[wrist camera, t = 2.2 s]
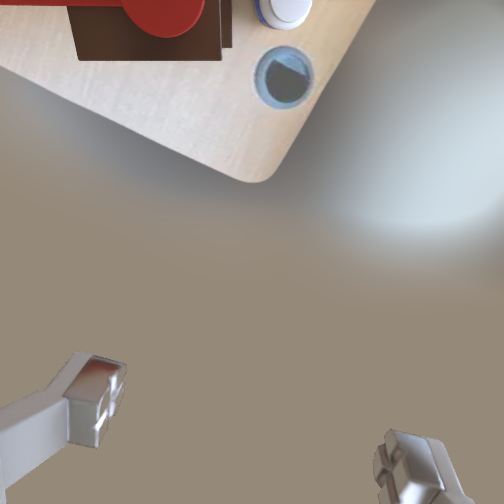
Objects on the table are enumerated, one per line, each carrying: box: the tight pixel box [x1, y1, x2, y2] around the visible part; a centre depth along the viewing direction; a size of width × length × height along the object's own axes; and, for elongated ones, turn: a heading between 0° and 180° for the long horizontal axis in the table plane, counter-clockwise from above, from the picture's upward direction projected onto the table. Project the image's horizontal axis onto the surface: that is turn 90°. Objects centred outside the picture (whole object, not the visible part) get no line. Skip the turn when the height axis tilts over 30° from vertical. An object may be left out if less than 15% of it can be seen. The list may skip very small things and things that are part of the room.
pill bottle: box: [254, 0, 312, 30], centre depth 38 cm, size 5×5×10 cm
